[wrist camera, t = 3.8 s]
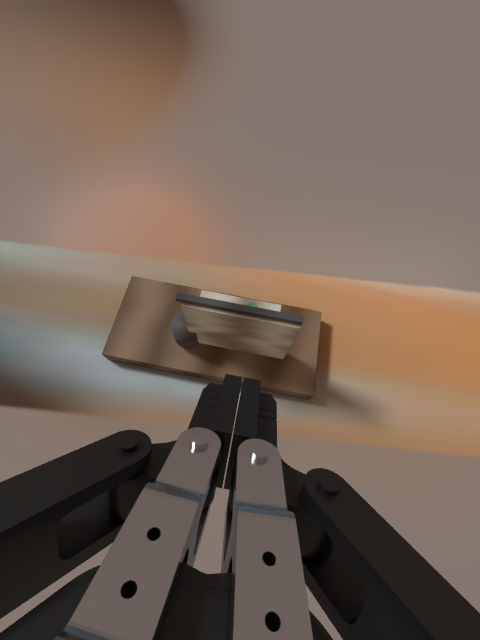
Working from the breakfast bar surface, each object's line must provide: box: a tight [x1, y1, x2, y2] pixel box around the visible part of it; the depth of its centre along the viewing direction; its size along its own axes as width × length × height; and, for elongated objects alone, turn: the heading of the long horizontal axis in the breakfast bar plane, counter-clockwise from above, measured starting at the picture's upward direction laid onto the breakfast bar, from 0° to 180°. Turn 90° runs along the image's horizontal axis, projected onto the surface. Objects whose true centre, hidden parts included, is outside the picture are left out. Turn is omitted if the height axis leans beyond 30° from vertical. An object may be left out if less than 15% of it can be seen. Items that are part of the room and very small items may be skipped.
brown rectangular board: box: [102, 276, 321, 399], centre depth 38 cm, size 24×10×2 cm, turn 79°
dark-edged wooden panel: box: [171, 292, 304, 359], centre depth 31 cm, size 12×3×10 cm, turn 79°
